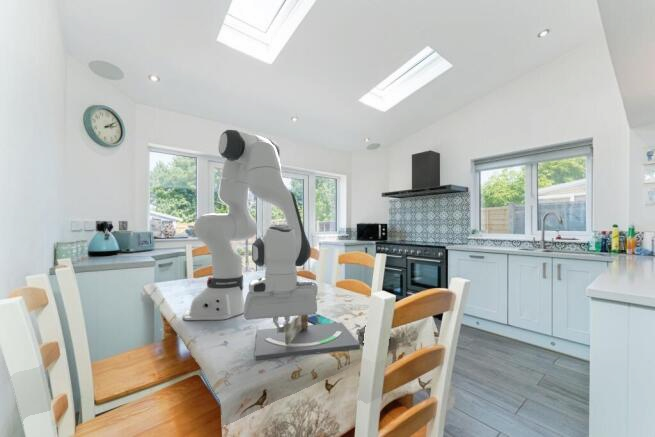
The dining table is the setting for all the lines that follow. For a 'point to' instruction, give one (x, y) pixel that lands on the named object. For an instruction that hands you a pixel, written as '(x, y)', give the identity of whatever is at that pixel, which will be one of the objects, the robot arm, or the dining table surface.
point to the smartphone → (319, 319)
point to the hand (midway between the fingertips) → (281, 332)
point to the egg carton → (361, 334)
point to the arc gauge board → (304, 341)
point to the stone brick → (295, 327)
